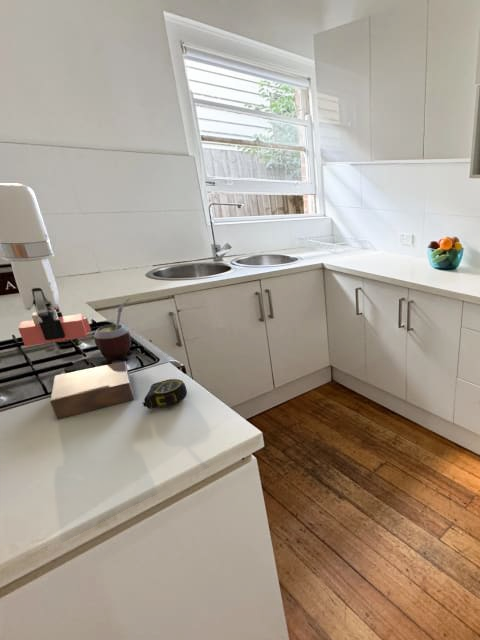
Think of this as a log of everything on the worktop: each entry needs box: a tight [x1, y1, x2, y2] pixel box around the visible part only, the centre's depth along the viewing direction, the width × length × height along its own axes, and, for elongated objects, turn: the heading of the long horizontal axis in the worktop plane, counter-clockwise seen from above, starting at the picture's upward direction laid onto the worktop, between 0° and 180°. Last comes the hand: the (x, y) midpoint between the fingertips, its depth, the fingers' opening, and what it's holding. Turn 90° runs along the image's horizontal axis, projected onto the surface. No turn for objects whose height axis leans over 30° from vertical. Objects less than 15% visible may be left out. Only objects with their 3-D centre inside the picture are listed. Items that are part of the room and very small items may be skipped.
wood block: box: [49, 360, 135, 420], centre depth 79 cm, size 12×12×4 cm
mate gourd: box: [93, 297, 133, 364], centre depth 93 cm, size 8×8×15 cm
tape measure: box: [141, 378, 188, 410], centre depth 78 cm, size 7×7×4 cm
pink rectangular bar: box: [17, 310, 92, 347], centre depth 83 cm, size 11×5×6 cm, turn 128°
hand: (56, 333), depth 83 cm, fingers closed on pink rectangular bar, 4 cm apart
